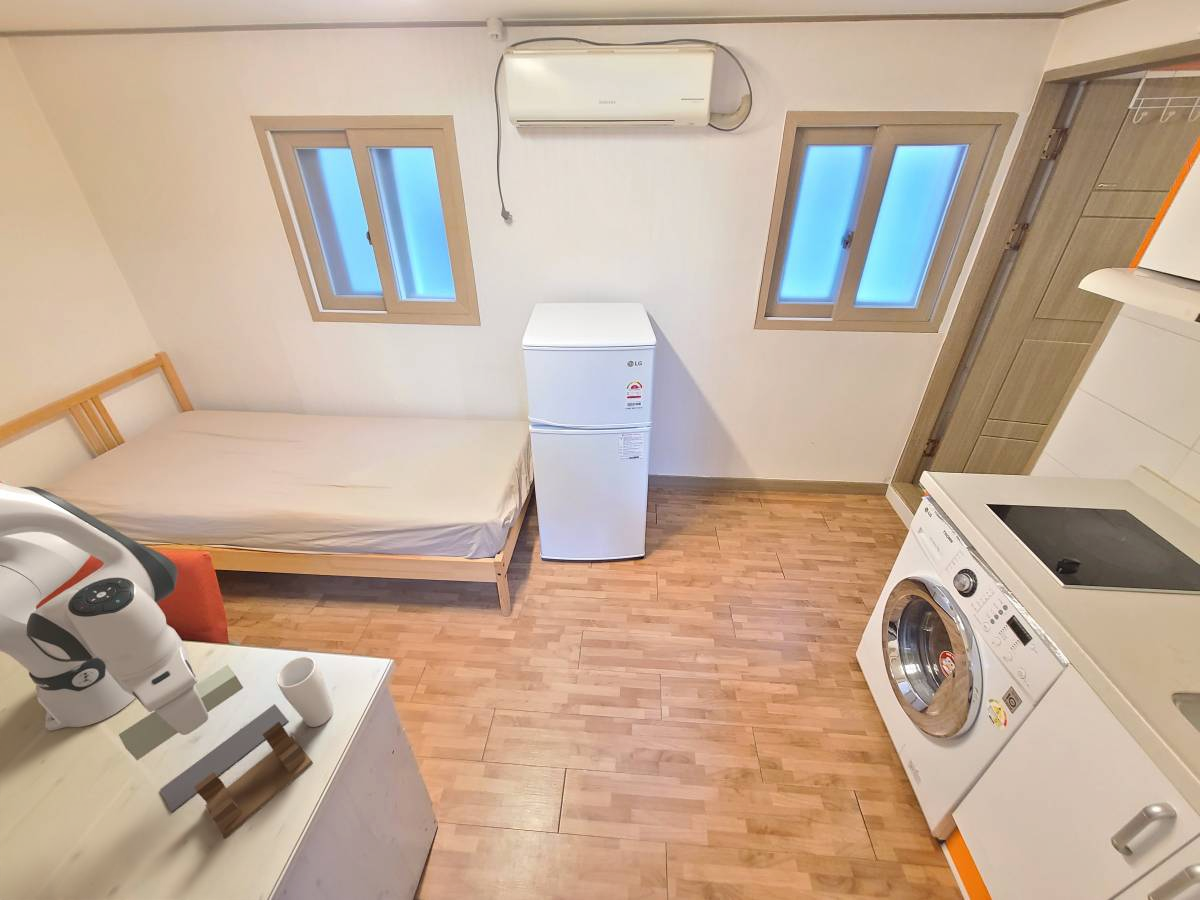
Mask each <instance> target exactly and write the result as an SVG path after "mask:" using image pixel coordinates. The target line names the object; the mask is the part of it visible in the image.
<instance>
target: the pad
mask: <svg viewBox="0 0 1200 900" xmlns="http://www.w3.org/2000/svg"><path fill="white" fill-rule="evenodd" d="M278 722H280V723H281V725H282V726H283V727H284V726H285V725H286V724H288V723H289V720H288V718H287V717H286V716H285V714H283V712H282V711H281V709H280V708H279V707H278V706H277V705H276V704H275V703H274V704H272V706H270V707H268V708H267V709H266V710H264V711H263V712H262V713H261V714H260V715H258V716H256V718H254V719H253V720H251V721H250V722H248V723H247V724H246V725H244V726H243V727H242V728H241V729H239V730H237V731H236V732H235V733H234V734H232V735H231V736H230V737H229V738H227V739H225V740H224V741H223V742H221V743H220V744H219V745H218V746H217V747H215V748H213V750H211V751H210V752H208V753H207V754H206V755H204V756H203V757H202V758H200V759H199V760H198V761H196V762H195V763H193V764H192V765H190V766H189V767H188V768H187V769H185V770H184V771H182V772H181V773H180V774H178V775H177V776H176V777H174V778H173V779H172V780H170V781H169V782H168V783H167V784H166V785H164V786H162V787H161V788H160V789H159V790H160V792H161V794H162V796H163V798H164V800H165V802H166V804H167V806H168V808H169V811H170V812H171V813H174V812H175V811H176V810H177V809H179V808H181V807H182V806H183V805H184V804H186V803H187V802H188V801H189V800H190V799H192V798H193V797H194V796H196V795H197V794H198V793H197V791H196V790H195V788H194V787H195V786H196V785H197V784H199V783H200V782H201V781H203V780H204V779H205V778H206V777H208V776H209V775H210V774H212V773H213V772H214V773H215V774H216V775H217V776H218V777H219V776H221V775H222V774H224V773H225V772H226V771H227V770H229V769H230V768H231V767H233V766H234V765H235V764H236V763H238V762H239V761H241V760H242V759H243V758H244V757H245V756H247V755H248V754H249V753H250V752H252V751H253V750H254V749H256V748H257V747H259V745H261V744H262V743H263V742H264V741H267V740H266V739H265V738H264V736H263V735H262V734H264V733H265V732H266V731H267V730H269V729H270V728H271V727H273V726H274V725H275V724H276V723H278Z"/></svg>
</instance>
